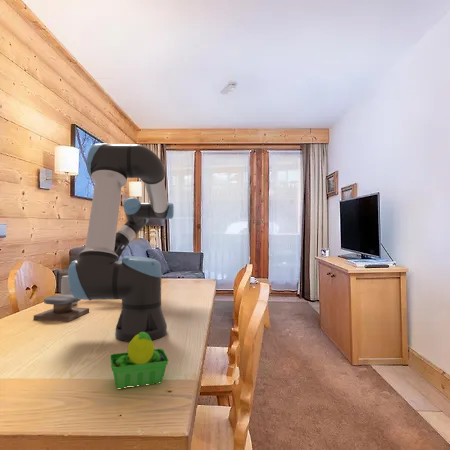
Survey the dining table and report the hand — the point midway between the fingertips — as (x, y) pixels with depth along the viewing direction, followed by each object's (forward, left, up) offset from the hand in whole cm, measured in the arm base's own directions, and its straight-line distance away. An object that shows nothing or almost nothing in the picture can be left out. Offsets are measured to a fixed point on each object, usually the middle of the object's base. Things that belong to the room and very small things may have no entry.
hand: (91, 272), depth 144 cm
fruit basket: (-68, -51, -13) cm, 86 cm away
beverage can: (-8, +5, -13) cm, 16 cm away
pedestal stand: (-24, -3, -13) cm, 27 cm away
